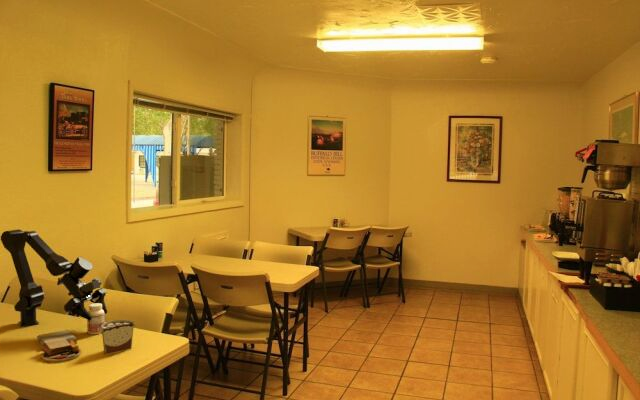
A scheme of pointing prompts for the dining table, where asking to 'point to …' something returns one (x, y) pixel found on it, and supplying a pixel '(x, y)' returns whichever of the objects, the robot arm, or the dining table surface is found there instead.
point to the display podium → (54, 335)
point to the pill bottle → (95, 318)
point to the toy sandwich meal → (59, 350)
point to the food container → (117, 335)
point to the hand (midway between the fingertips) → (98, 316)
